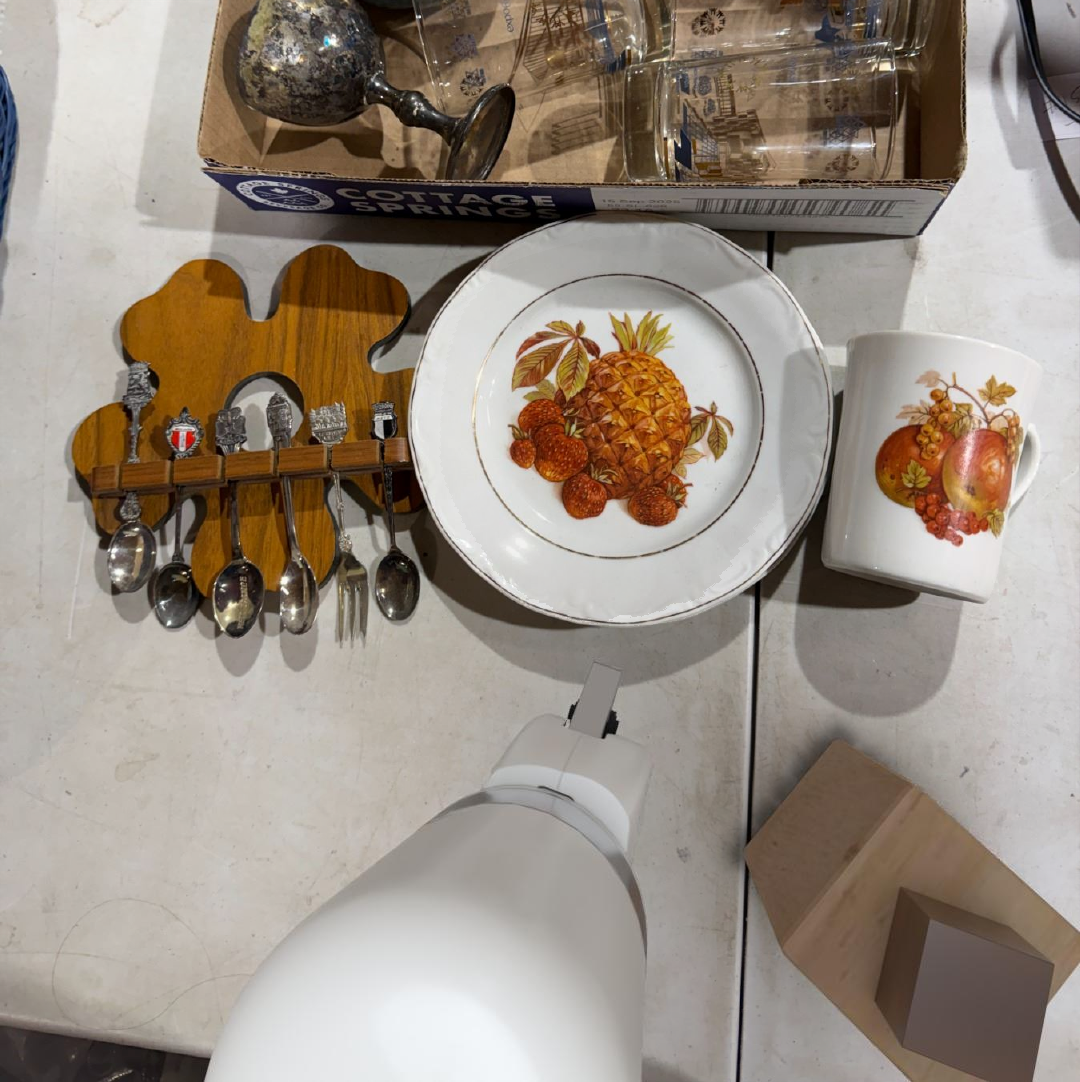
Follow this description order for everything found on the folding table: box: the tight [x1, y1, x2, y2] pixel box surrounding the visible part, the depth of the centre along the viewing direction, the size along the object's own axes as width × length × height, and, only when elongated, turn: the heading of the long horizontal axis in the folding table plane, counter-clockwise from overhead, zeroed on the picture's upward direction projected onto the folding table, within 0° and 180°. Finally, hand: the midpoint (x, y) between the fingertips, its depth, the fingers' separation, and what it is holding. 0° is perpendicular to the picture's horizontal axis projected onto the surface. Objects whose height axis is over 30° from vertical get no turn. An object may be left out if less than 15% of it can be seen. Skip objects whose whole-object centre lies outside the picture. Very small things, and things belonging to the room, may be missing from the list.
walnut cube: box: [875, 887, 1055, 1082], centre depth 42 cm, size 5×5×5 cm
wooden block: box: [742, 738, 1080, 1082], centre depth 54 cm, size 10×10×20 cm
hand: (567, 823), depth 44 cm, fingers closed on slate cube, 5 cm apart
